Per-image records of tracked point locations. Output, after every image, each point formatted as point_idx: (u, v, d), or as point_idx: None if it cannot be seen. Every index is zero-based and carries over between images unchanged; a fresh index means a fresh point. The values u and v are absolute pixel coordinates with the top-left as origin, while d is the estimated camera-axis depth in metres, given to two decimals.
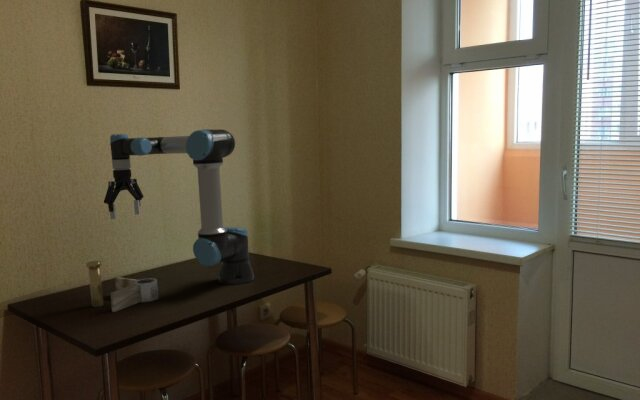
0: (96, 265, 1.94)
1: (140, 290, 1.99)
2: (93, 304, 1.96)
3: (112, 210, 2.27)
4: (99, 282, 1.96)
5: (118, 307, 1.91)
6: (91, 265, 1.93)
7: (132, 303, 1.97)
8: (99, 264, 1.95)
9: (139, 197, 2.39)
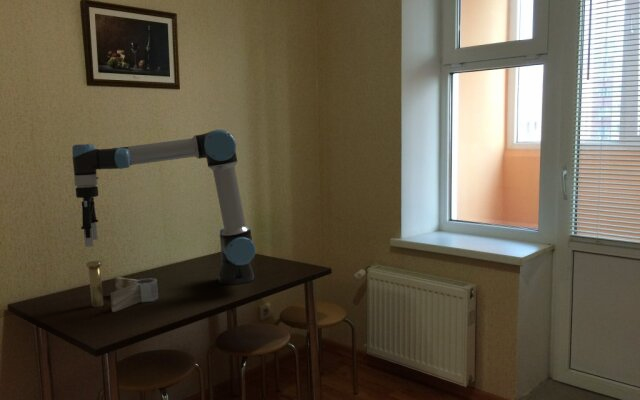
0: (96, 265, 1.94)
1: (140, 290, 1.99)
2: (93, 304, 1.96)
3: None
4: (99, 282, 1.96)
5: (118, 307, 1.91)
6: (91, 265, 1.93)
7: (132, 303, 1.97)
8: (99, 264, 1.95)
9: None
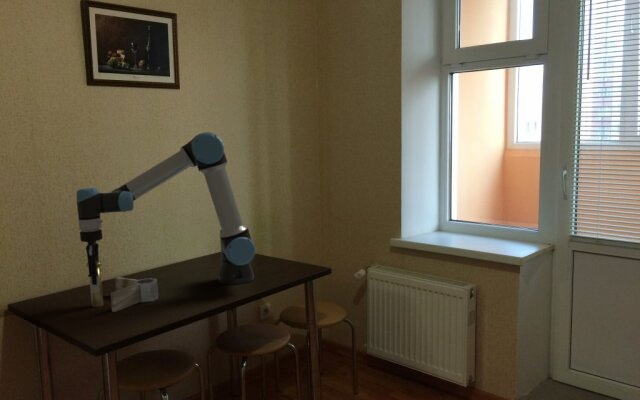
0: None
1: (140, 290, 1.99)
2: (93, 304, 1.96)
3: None
4: (99, 282, 1.96)
5: (118, 307, 1.91)
6: None
7: (132, 303, 1.97)
8: (99, 264, 1.95)
9: None
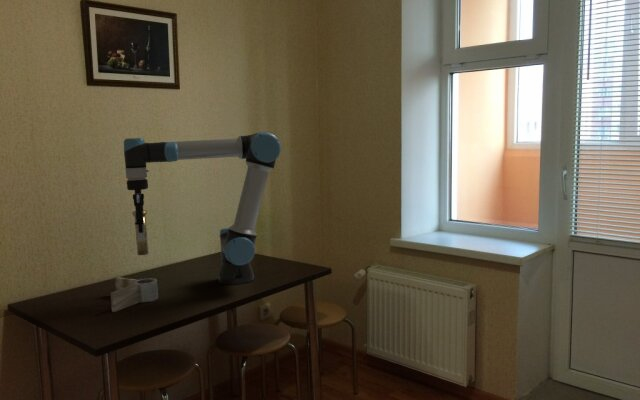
0: None
1: (140, 290, 1.99)
2: (139, 252, 2.00)
3: None
4: (145, 231, 2.00)
5: (118, 307, 1.91)
6: None
7: (132, 303, 1.97)
8: (145, 213, 1.99)
9: None
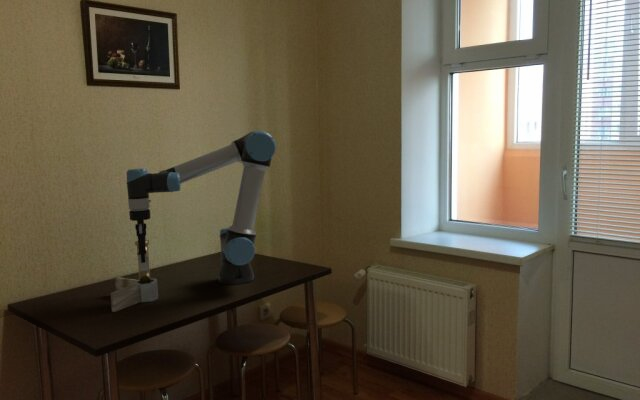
0: (145, 244, 1.99)
1: (140, 290, 1.99)
2: (141, 282, 2.01)
3: None
4: (147, 260, 2.01)
5: (118, 307, 1.91)
6: None
7: (132, 303, 1.97)
8: (147, 243, 2.00)
9: None
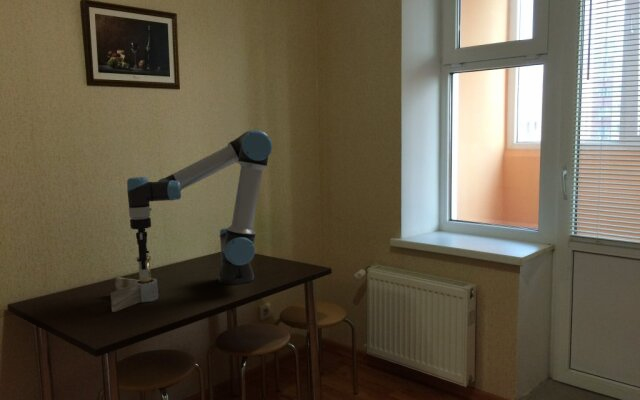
0: None
1: (140, 290, 1.99)
2: None
3: None
4: (148, 276, 2.02)
5: (118, 307, 1.91)
6: None
7: (132, 303, 1.97)
8: (149, 259, 2.01)
9: None
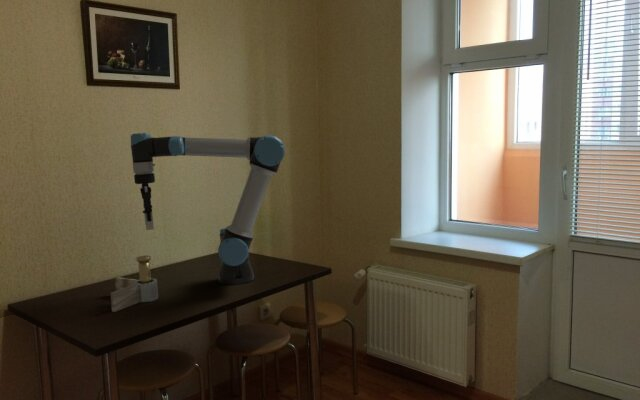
0: (146, 259, 2.00)
1: (140, 290, 1.99)
2: None
3: None
4: (148, 276, 2.02)
5: (118, 307, 1.91)
6: (141, 259, 1.99)
7: (132, 303, 1.97)
8: (149, 259, 2.01)
9: (144, 210, 1.97)
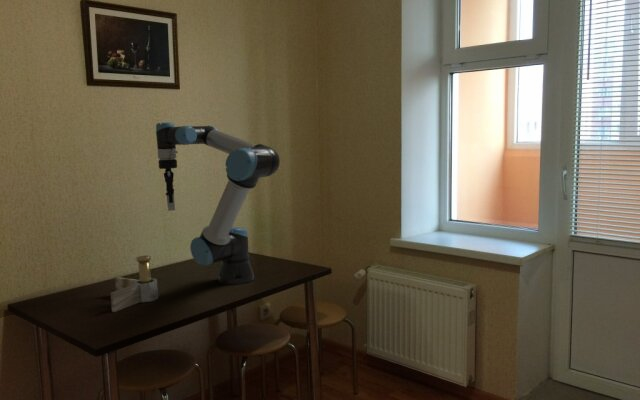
0: (146, 259, 2.00)
1: (140, 290, 1.99)
2: None
3: None
4: (148, 276, 2.02)
5: (118, 307, 1.91)
6: (141, 259, 1.99)
7: (132, 303, 1.97)
8: (149, 259, 2.01)
9: (167, 192, 2.17)
